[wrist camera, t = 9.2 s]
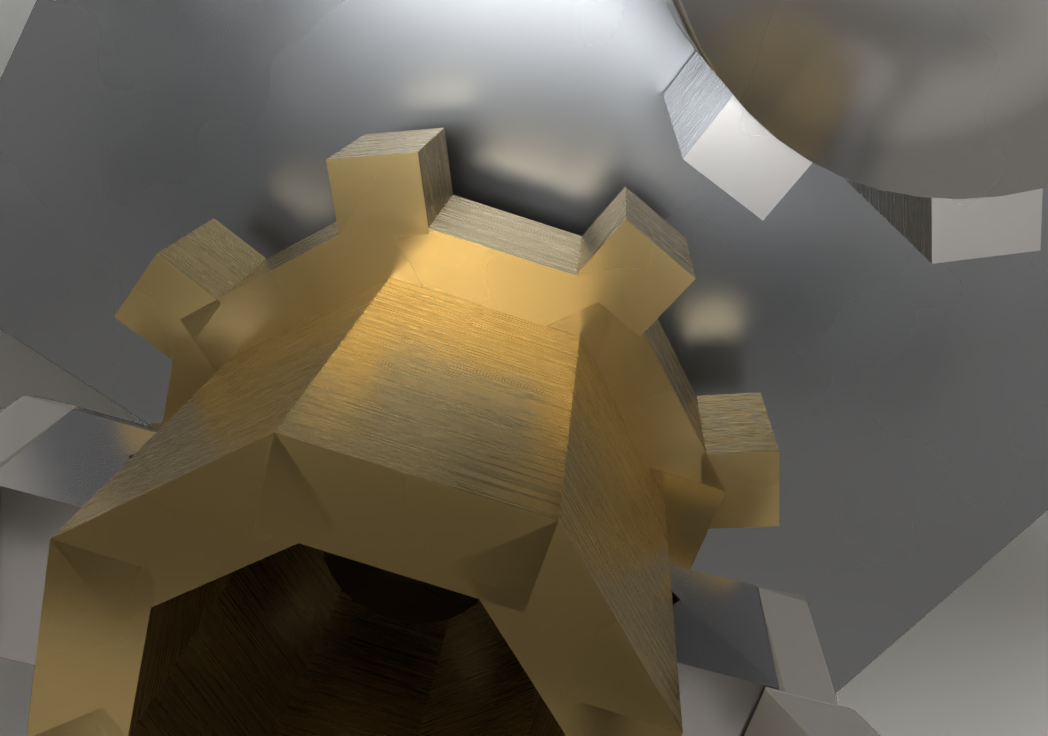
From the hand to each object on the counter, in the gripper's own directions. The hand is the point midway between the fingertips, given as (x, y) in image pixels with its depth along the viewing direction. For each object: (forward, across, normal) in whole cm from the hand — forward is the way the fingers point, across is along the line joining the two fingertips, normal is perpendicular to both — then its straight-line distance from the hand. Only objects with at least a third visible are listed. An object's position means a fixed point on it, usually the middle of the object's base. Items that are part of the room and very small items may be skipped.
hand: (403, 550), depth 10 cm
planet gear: (+2, 0, 0) cm, 2 cm away
